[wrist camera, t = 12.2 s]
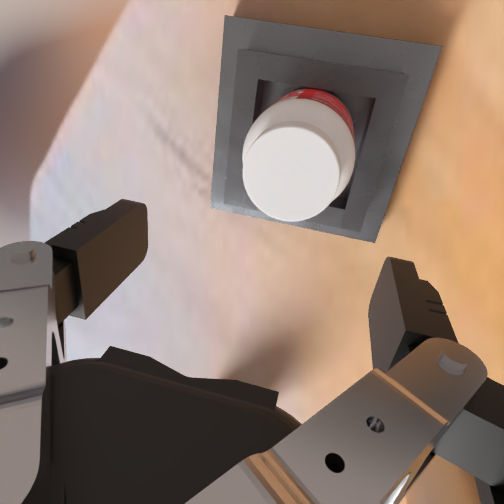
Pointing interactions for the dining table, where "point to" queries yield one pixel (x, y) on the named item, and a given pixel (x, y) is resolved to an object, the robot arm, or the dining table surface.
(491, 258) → the dining table surface
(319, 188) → the pill bottle
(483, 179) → the dining table surface
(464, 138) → the dining table surface
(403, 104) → the block
